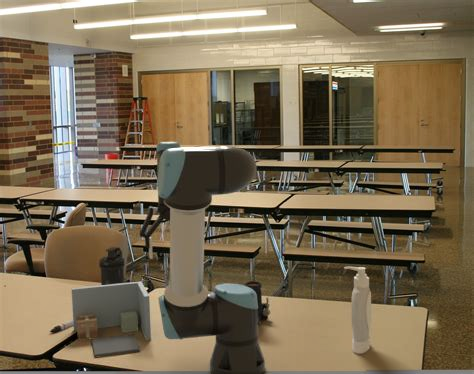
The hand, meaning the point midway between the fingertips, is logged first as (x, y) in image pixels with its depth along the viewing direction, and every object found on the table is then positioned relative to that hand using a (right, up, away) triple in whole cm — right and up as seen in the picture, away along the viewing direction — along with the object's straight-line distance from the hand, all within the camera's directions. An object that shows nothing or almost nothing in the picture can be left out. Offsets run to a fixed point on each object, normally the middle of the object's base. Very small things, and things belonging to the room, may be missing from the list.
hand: (172, 256), depth 201 cm
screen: (-19, -25, -1) cm, 31 cm away
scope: (+27, -23, +7) cm, 36 cm away
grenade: (-25, -21, +34) cm, 47 cm away
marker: (-36, -25, +7) cm, 44 cm away
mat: (-16, -26, -11) cm, 33 cm away
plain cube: (-14, -24, +4) cm, 29 cm away
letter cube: (-27, -25, -1) cm, 37 cm away
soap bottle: (+57, -26, -15) cm, 64 cm away
